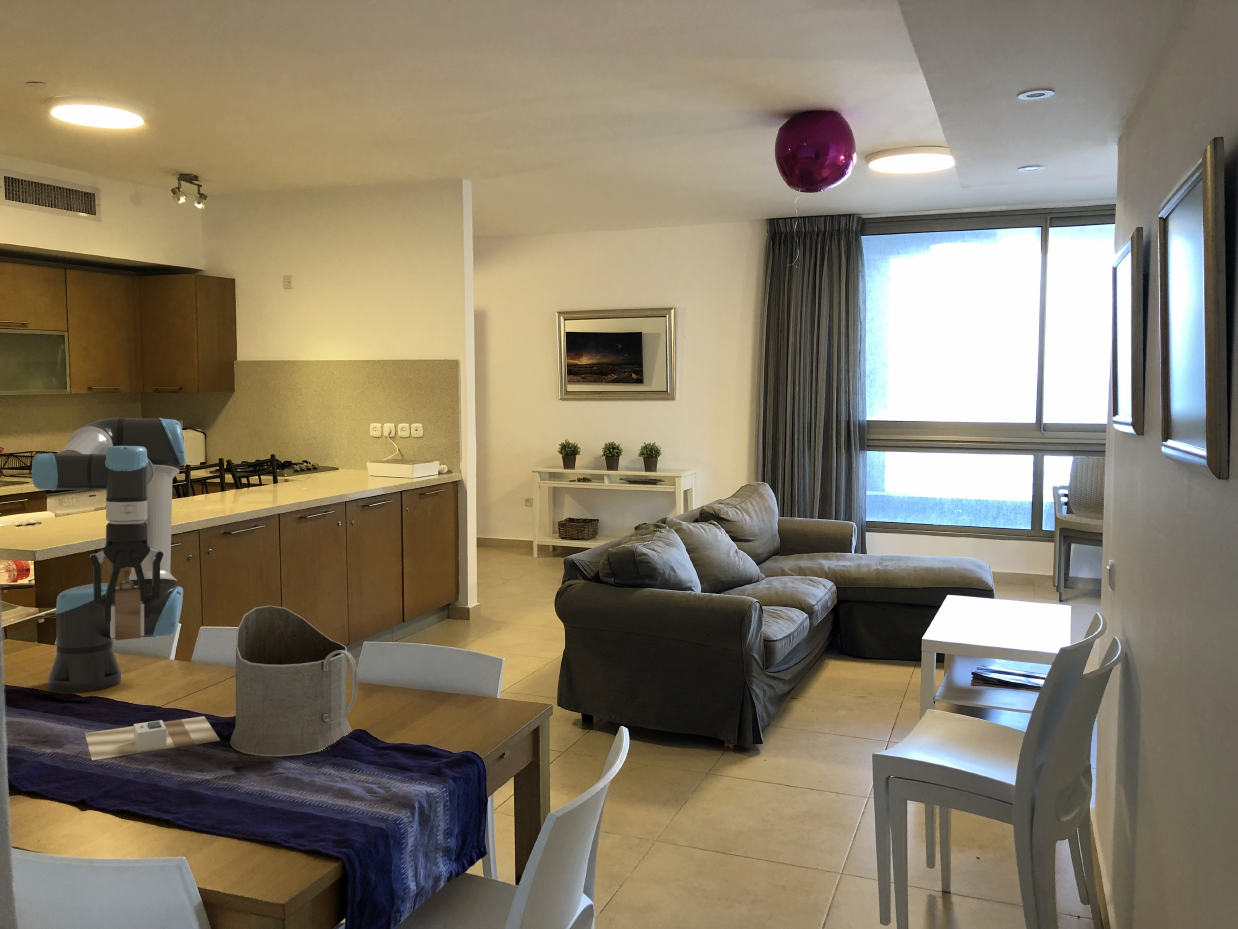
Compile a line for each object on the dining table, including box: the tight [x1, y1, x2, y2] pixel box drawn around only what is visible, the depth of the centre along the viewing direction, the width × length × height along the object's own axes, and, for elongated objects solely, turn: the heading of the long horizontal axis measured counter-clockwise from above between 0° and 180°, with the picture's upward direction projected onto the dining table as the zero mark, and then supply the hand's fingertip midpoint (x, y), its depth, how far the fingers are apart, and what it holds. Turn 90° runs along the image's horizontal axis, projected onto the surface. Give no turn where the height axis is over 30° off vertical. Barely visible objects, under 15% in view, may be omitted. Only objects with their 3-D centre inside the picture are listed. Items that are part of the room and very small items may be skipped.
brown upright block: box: [114, 570, 141, 641], centre depth 197 cm, size 4×4×14 cm
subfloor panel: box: [84, 716, 221, 761], centre depth 189 cm, size 17×22×1 cm
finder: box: [133, 719, 167, 751], centre depth 185 cm, size 6×5×4 cm
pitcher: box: [229, 605, 358, 757], centre depth 192 cm, size 23×32×25 cm
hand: (127, 635), depth 197 cm, fingers closed on brown upright block, 4 cm apart
